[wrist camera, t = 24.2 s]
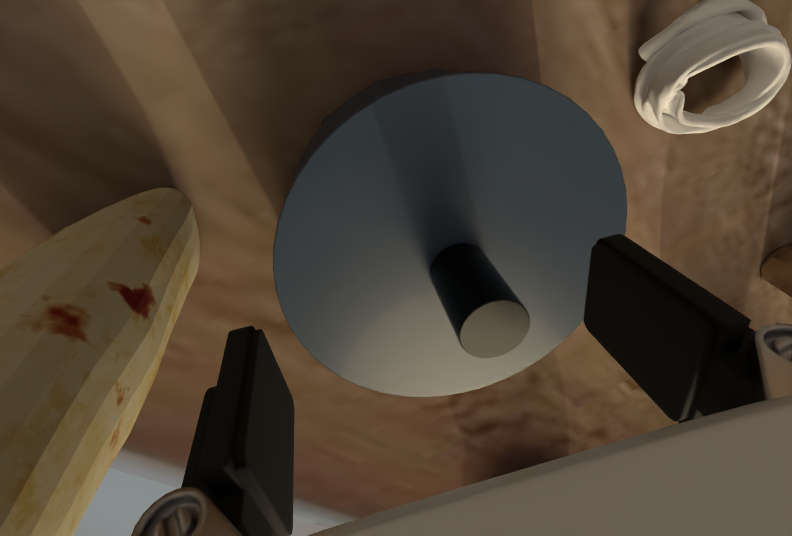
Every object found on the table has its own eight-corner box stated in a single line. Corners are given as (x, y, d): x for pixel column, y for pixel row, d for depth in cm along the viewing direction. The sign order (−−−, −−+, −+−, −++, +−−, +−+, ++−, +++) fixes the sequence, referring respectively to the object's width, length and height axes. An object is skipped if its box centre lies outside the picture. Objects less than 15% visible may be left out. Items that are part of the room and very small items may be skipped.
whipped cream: (752, 61, 24) (852, 63, 20) (670, 159, 26) (748, 180, 22) (691, -41, 21) (799, -63, 16) (600, 82, 22) (677, 90, 18)
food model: (133, 139, 20) (-860, 761, 3) (248, 225, 23) (70, 766, 6) (30, 270, 22) (-859, 1035, 5) (148, 331, 26) (-182, 940, 9)
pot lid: (327, 412, 24) (330, 508, 19) (214, 117, 15) (169, 159, 11) (597, 344, 25) (664, 419, 20) (635, 31, 16) (769, 33, 12)
